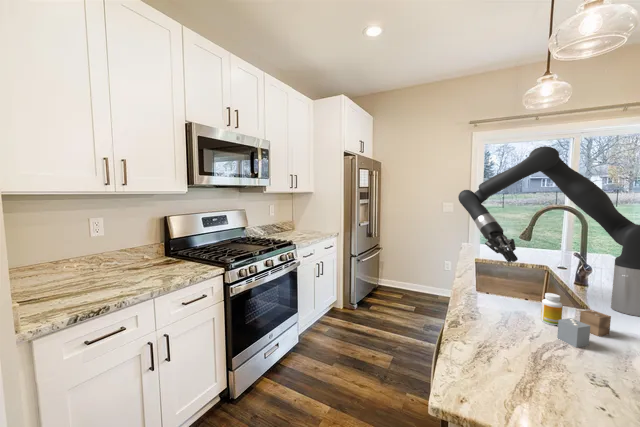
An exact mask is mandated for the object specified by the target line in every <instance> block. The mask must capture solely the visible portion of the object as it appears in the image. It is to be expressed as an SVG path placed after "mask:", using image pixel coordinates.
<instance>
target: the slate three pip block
mask: <svg viewBox="0 0 640 427" xmlns="http://www.w3.org/2000/svg"><path fill="white" fill-rule="evenodd" d="M590 335H591V333H590V325H587V324H585V323H582V322H580V320H577V319H575V318H572V317H569V318H562V319H561V320H559V321H558V326H557V335H556V336H557V338H558V339H557V338H556V339H557V340H559V339H560V340H559V341H561V340H562V342H563V341H564V343H565V342H566V343H565V344H567V343H568V345H569V346H572V347H573V348H576V349H577V348H582V347H588V346H590V338H591V337H590Z"/></svg>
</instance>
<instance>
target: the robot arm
mask: <svg viewBox="0 0 640 427" xmlns="http://www.w3.org/2000/svg"><path fill="white" fill-rule="evenodd" d="M539 172H540V173H542V174H543V175H545V176H546V177H547V178H549V179H550V180H551V181H552V182H553V183H554V184H555V186H556V187H557V188H558V189H559V191H561V192H562V194H564V195H565V196H566V198H567V199H569V200H570V201H571V202H572V203H573V204H574V205H575V206H576V207H578V208H579V209H580V210H581V211H582V212H584V213H585V214H586V215H587V216H588V217H590V218H591V219H593V220H594V221H595V222H596V223H598V224H599V226H600V227H602V228H603V230H604V231H605V232H606V233H607V234H608V235H609V236H610V238H612V240H613V241H614V242H615V243H616V244H618V245H620V246H621V247H622V248H621V253H620V255H619V256H617V257H615V259H614V268H613V277H612V278H613V279H612V289H611V291H612V292H611V301H610V302H611V303H610V308H611V309H612V310H614V311H617V312H618V313H622V314H626V315H629V316H630V315H631V316H635V317H640V224H637V223H635V222H633V221H631V220H630V219H628V218H627V217H626V216H625V215H623V214H622V213H621V212H619V210H618V209H617V208H616V207H615V204H614V203H613V202H612V200H611V198H610V197H609V195H608V194H607V193H606V192H605V191H604V190H603V189H602V188H600V187H599V186H598V184H596V183H594V182H593V181H592V180H590V178H587V177H586V176H584V175H582V174H581V173H579V172H577V171H576V170H574V169H573V168H572V167H570V166H569V165H567V163H566V162H565V161H564V160H562V158H561V156H560V152H559V151H558V150H557V149H556V148H555V147H552V146H547V145H546V146H539V147H536V148H535V149H533V150H532V151H531V152H530V153H529V155H528V156H527V157H526V158H525V159H523V160H522V161H521V162H519V163H517V164H516V165H514V166H512V167H510V168H508V169H506V170H504V171H502V172H500V173H498V174H496V175H493V176H492V177H490V178H489V179H486V180H485V181H483V182H482V183H480V184H479V185H478V189H477V190H476V191H472V190H470V189H464V190H462V191H460V192H459V193H458V197H457V198H458V201H459V203H460V204H461V206H462V207H463V208H464V210H465V211H466V212H467V213H468V214H469V215H470V217H471V219H472V220H473V221H474V224H475V225H476V227H477V228H478V230H479V232H480V233H481V235H482V236H483V238H484V239H485V240H487V241H486V242H484V245H486V246H487V247H488V248H490V249H491V250H492V251H493V252H494V253H496V254H500V255H501V256H503V258H504V259H505V260H506V262H508V263H511V262H512V263H515V262H517V261H518V256H517V255H516V254H515V252H514V251H515V250H516V249H517V248H516V243H515V240H514V239H513V238H508V237H507V236H506V235H505V234H504V229H503V228H502V226H501V225H500V224H499V222H498V221H497V220H496V218H495V217H494V216H493V215H492V214H491V213H490V211H489V210H488V209H487V208H486V207H485V206H484V205H483V203H485V201H486V200H488V199H489V198H490V197H492V196H494V195H496V194H498V193H500V192H501V191H503V190H504V189H507V188H509V187H510V186H512V185H514V184H515V183H517V182H519V181H521V180H523V179H526V178H527V177H529V176H533V175H534V174H537V173H539Z"/></svg>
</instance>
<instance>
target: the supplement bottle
mask: <svg viewBox="0 0 640 427" xmlns="http://www.w3.org/2000/svg"><path fill="white" fill-rule="evenodd" d="M560 301H561V295H558V294H557V293H552V292H545V293H544V298H543V299H542V300H541V310H540V320H541V322H542V323H544V324H547V325H549V324H550V325H551V326H554V325H557V327H558V321H559V320H561V319H563V318H562V316H563V308H564V307H563V303H562V302H560ZM550 325H549V326H550Z"/></svg>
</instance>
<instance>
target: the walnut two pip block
mask: <svg viewBox="0 0 640 427" xmlns="http://www.w3.org/2000/svg"><path fill="white" fill-rule="evenodd" d="M611 319H612V316H611V315H608V314H605V313H602V312H599V311H596V310H593V309H587V310H580V313H579V322H582V323H585V324H587V325H590V335H593V336H596V337H598V336H599V337H603V335H605V336H610V334H611V333H610V332H611V323H612V322H611Z"/></svg>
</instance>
